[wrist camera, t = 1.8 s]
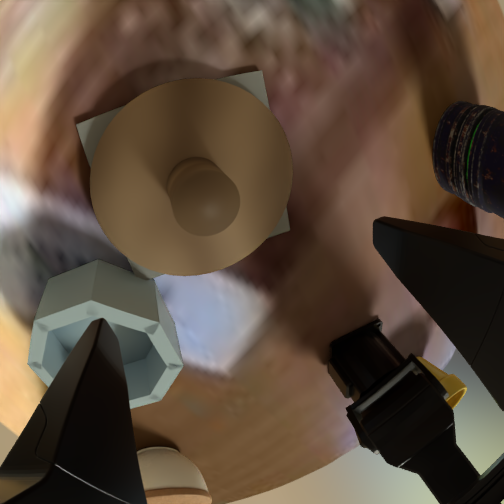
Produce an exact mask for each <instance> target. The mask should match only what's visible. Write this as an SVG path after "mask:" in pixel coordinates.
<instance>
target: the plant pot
mask: <svg viewBox="0 0 504 504" xmlns="http://www.w3.org/2000/svg"><path fill="white" fill-rule="evenodd" d="M416 358H417V359H418V360H419V361H420V362H421V363H422V364H423V365H424V366H425V367H426V368H427V369H428V370H429V371H430V372H431V373H432V374H433V375H434V376H435V377H436V378H437V379H438V380H439V382H440V383H441V384H442V385H443V387H444V388H445V389H446V391H447V392H448V394H449V397H448V398H447V399H446V400H445V401H446V402H447V403H448V404H449V405H450V407H451V408H452V409H453V408H454V407H455V406H456V405H457V404H458V403H459V402H460V400H461V399H462V397H463V396H464V394H465V392H466V390H467V387H466V386H465V384H464V383H462V381H461V380H460V379H459V378H458V377H456V376H455V375H454V374H450V375H448V374H447V373H445V372H443V371H442V370H440V369H439V368H437V367H436V366H434V365H433V364H431V363H430V362H428V361H427V360H425V359H424V358H422V357H416Z"/></svg>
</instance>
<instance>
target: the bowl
mask: <svg viewBox="0 0 504 504" xmlns="http://www.w3.org/2000/svg"><path fill="white" fill-rule="evenodd" d="M99 318H104V319H106V321H107V322H108V324H109V325H110V327H111V328H112V330H113V331H114V333H115V334H116V336H117V338H118V341H119V345H120V350H121V356H122V361H123V366H124V371H125V376H126V380H127V386H128V394H129V403H130V409H131V408H135V407H139V406H143V405H146V404H150V403H153V402H157V401H161V399H162V398H163V396H164V395H165V393H166V392H167V390H168V389H169V387H170V386H171V384H172V383H173V381H174V380H175V378H176V377H177V375H178V374H179V372H180V370H181V369H182V367H183V366H184V365H183V360H182V356H181V351H180V347H179V342H178V337H177V332H176V328H175V323H174V321H173V319H172V317H171V315H170V313H169V311H168V309H167V307H166V304H165V302H164V300H163V298H162V296H161V294H160V292H159V290H158V287H157V285H156V283H155V280H152V279H149V280H144V279H141V278H138V277H136V276H135V274H134V273H133V272H131V271H128V270H125V269H123V268H120V267H117V266H115V265H112V264H110V263H107V262H105V261H102V260H99V259H98V260H95V261H93V262H90V263H87V264H85V265H82V266H80V267H77V268H75V269H72V270H70V271H67V272H65V273H62V274H60V275H57V276H55V277H52V278H50V279H48V282H47V284H46V287H45V290H44V292H43V295H42V298H41V301H40V304H39V307H38V309H37V312H36V315H35V318H34V324H33V330H32V336H31V342H30V349H29V357H28V363H27V364H28V365H29V366H30V368H31V369H32V370H33V371H34V372H35V373H36V374H37V375H38V376H39V377H40V379H41V380H42V381H43V382H44V383H45V384H46V385H47V386H48V387H49V386H50V384H51V383H52V381H53V379H54V378H55V376H56V374H57V373H58V371H59V370H60V368H61V367H62V365H63V363H64V362H65V360H66V359H67V357H68V356H69V354H70V353H71V351H72V349H73V348H74V346H75V345H76V343H77V342H78V340H79V339H80V337H81V336H82V334H83V333H84V331H85V330H86V329H87V327H88V326H89V324H90V323H91V321H93V320H96V319H99Z"/></svg>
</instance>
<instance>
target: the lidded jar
mask: <svg viewBox="0 0 504 504" xmlns="http://www.w3.org/2000/svg"><path fill="white" fill-rule="evenodd" d="M137 456H138V462H139V467H140V472H141V477H142V482H143V486H144V491H145V495H146V499H147V503H148V504H211V502H212V498H211V495H210V493H209V492H208V489H207V486H206V483H205V480H204V478H203V476H202V474H201V473H200V471H199V469H198V468H197V467H196V465H195V464H194V463H193V462H192V461H191V460H190V459H188V458H187V457H185V456H184V455H182V454H180V453H179V451H177V450H176V449H173V448H169V447H149V448H144V449H141V450H139V451H137Z"/></svg>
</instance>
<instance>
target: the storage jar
mask: <svg viewBox="0 0 504 504" xmlns="http://www.w3.org/2000/svg"><path fill="white" fill-rule="evenodd" d="M433 166H434V172H435V175H436V178H437V181H438V183H439V184H440V186H441V187H442V188H443V189H444V190H446V191H448V192H450V193H452V194H455V195H456V196H458V197H460V198H462V199H463V200H464V201H465V202H467V203H469V204H471V205H473V206H475V207H479V208H480V209H482V210H484V211H486V212H488V213H495V214H497V215H498V216H500V217H502V218H504V111H500V110H497V109H496V108H493V107H490V106H486V105H477V104H471V103H468V102H464V101H459V102H455V103H453V104H452V105H450V106H449V107H448V108H447V110H446V111H445V112H444V114H443V115H442V117H441V119H440V121H439V124H438V126H437V130H436V133H435V138H434V144H433Z"/></svg>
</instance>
